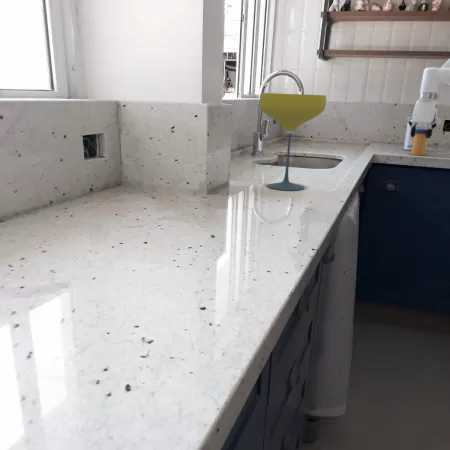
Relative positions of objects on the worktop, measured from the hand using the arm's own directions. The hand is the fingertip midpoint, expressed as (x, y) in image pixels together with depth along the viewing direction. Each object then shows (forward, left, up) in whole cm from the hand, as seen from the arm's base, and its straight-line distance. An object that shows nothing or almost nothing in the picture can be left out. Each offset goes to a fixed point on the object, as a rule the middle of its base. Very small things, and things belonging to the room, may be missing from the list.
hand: (420, 137), depth 230 cm
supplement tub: (+14, -16, -8) cm, 23 cm away
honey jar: (0, -1, -8) cm, 8 cm away
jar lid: (0, -1, +3) cm, 3 cm away
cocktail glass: (-40, +119, -8) cm, 126 cm away
